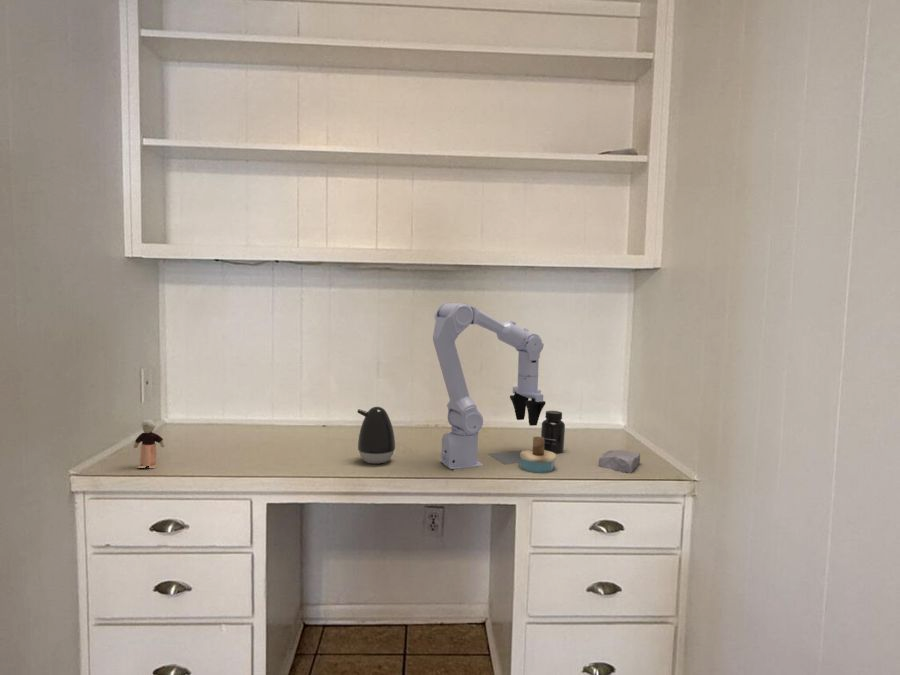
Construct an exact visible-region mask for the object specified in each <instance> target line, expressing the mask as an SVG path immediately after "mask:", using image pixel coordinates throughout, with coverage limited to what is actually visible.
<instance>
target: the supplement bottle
mask: <svg viewBox="0 0 900 675" xmlns="http://www.w3.org/2000/svg"><path fill="white" fill-rule="evenodd" d="M544 417H545V419H544V420H543V421H542V422H541V430H540V431H541V432H540V434H541V435H540V437H543V438H545V439H544V450H546V451H550V452H553V453H555V454H556V455H557V454H562V453H564V450H565V435H566V434H565V432H566V430H565V429H566V425H565V423H564V421H563V412H562V411H558V410H546V411H545V416H544Z"/></svg>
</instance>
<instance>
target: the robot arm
mask: <svg viewBox="0 0 900 675" xmlns="http://www.w3.org/2000/svg"><path fill="white" fill-rule="evenodd" d="M434 319H435V320H434V321H435V324H434V327H433V334H432V340H433V345H434V346H433V347H434V348H435V352H436V357H437V360H438V363H439V366H440V369H441V373H442V377H443V381H444V384H445V388H446V391H447V395H448V398H449V401H448V402H447V422H448V424H450V426H451V432H448V433H444V434H442V438H441V459H440V462H441V463H442V464H443V465H445V466H446V467H447V468H448V469H450V470H455V469H465V468H475V467H483V465H484V464H483V463H482V462H480V461H478V453H479V452H478V450H479V448H478V445H479V444H478V443H479V432H480V430H481V429H483V428H482V427H483V426H484V418H483V415H482V414H481V413H480V411H479V410H478V408H477V405H476V403H475V402H474V400H473V399H472V398H471V396H470V393H469V390H468V386H467V382H466V378H465V375H464V371H463V368H462V364H461V360H460V357H459V352H458V350H457V346H456V340H457V338H458V337H459V335H460V334H462V332H464V330H466V329H467V328H468V327H469V326H470V325H477V326H478V327H479V326H480V327H482V328H484V329H486V330H488V331H491V332H493V333H495V334H496V337H497V339H498V340H499V341H501V342H503V343H505V344H507V345H509V346H511V347H513V348H514V349H515V350H516V351H517V352H518V358H517V359H518V361H517V362H518V364H517V386H512V394H513V395H509V399H510V400H511V403H512V405H513V409H514V413H515V419H516V420H517V421H522V420H523V421H524V420H525V416H526V410H527V416H528V425H529V427H531V426H532V427H533V426H537V425H538V423H539V419H540V415H541V413H542V411H543V409H544V407H545V406H546V404H547V403H546V401H545V400H544V394H543V393H542V390H540V389H538V387H539V386H538V385H539V384H538V383H539V362H540V357H541V356H540V355H541V352H542V350H543V349H544V345H545V344H544V343H543V340H542V338H541V336H539V334H536V333H530V332H529V329H528V328H522V327H520V326H518V325H517V322H515V321H513V320H510V321H508V320H507V321H503V322H501V321H499V320H497V319H496V318H495V317H493V316H491V315H489V314H487V313H485V312H484V311H482V310H481V309H479V308H477V307H475V306H471V305H469V304H468V303H456V302H455V303H452V302H444V303H442V304H441V305H439V307H438V309H437V310H436V312H435V313H434Z"/></svg>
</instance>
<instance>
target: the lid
mask: <svg viewBox="0 0 900 675" xmlns="http://www.w3.org/2000/svg"><path fill="white" fill-rule="evenodd" d="M544 439H545V438H543V437H541V436H533V437H532V449H526V450H521V451H522V452H521V453H520V457H521V458H522V459H524V460H527V461H532V462H551V461H554V462H555V461H556V460H557V454H555V453H553V452H550V451H546V450H544Z"/></svg>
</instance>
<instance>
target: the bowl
mask: <svg viewBox="0 0 900 675" xmlns="http://www.w3.org/2000/svg"><path fill="white" fill-rule="evenodd" d="M519 468H521V469H522V470H524V471H525V472H531V473H537V474H539V473H540V474H542V473H551V472H552V471H553V470H554V469H555V460H554V461H551V462H532V461H527V460H524V459H522V458H521V457H520V463H519Z"/></svg>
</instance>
